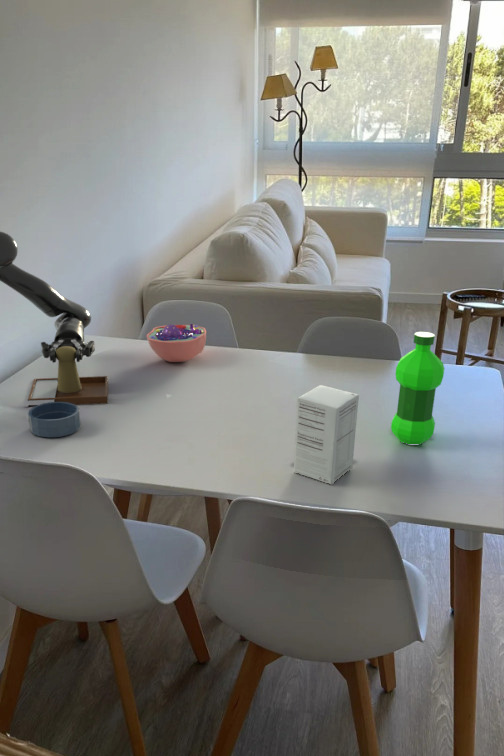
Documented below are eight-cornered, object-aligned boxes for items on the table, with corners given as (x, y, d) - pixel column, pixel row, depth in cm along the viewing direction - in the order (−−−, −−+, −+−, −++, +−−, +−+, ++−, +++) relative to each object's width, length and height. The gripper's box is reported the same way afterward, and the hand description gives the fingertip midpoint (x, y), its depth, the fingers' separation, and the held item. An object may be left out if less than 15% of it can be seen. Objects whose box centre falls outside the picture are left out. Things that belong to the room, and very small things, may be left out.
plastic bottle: (378, 438, 162) (390, 332, 151) (410, 428, 168) (423, 325, 157) (411, 454, 155) (426, 344, 144) (443, 443, 160) (459, 336, 150)
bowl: (28, 440, 157) (25, 421, 155) (33, 420, 167) (31, 402, 165) (79, 437, 159) (77, 419, 157) (81, 418, 169) (80, 400, 167)
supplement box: (315, 457, 152) (320, 383, 145) (353, 468, 148) (360, 393, 140) (291, 473, 145) (295, 396, 138) (331, 486, 141) (337, 407, 133)
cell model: (220, 355, 215) (220, 319, 210) (181, 373, 199) (180, 334, 194) (175, 346, 223) (174, 310, 218) (134, 362, 207) (132, 325, 202)
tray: (28, 407, 175) (27, 399, 174) (34, 385, 188) (34, 378, 187) (107, 403, 178) (107, 396, 177) (108, 382, 191) (107, 375, 190)
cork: (56, 393, 179) (52, 351, 174) (58, 384, 185) (54, 344, 180) (80, 392, 180) (77, 350, 175) (82, 383, 185) (78, 343, 181)
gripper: (40, 325, 188) (34, 344, 173) (95, 324, 191) (94, 343, 176) (43, 352, 192) (37, 373, 177) (97, 350, 194) (96, 371, 179)
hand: (65, 358), depth 176 cm, fingers closed on cork, 5 cm apart
